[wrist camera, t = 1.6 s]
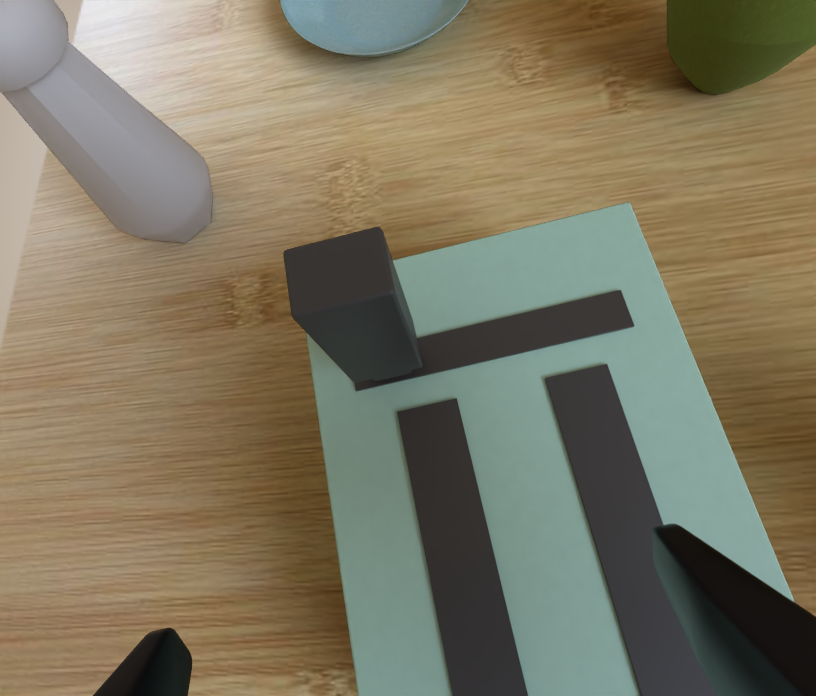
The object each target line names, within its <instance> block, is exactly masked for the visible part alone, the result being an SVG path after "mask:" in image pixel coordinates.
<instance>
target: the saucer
mask: <svg viewBox="0 0 816 696" xmlns="http://www.w3.org/2000/svg"><path fill="white" fill-rule="evenodd" d="M468 1H469V0H280V4H281V8H282V11H283V13H284V16H285V18H286V20H287V21H288V23H289V24H290V26H291V27H292V28H293V29H294V31H295V32H296V33H298V34H299V35H300V36H301V37H302V38H304V39H305V40H307V41H308V42H310V43H312V44H314V45H315V46H318V47H320V48H323V49H325V50H328V51H331V52H335V53H339V54H343V55H349V56H357V57H376V56H384V55H390V54H394V53H398V52H401V51H404V50H407V49H410V48H412V47H414V46H416V45H418V44H420V43H422V42H424V41H426V40H428V39H429V38H431V37H432V36H434V35H435V34H437V33H438V32H439V31H441V30H442V29H443V28H444V27H446V26H447V25H448V24H449V23H450V22H451V21H452V20H453V19H454V18H455V17H456V16H457V15H458V14H459V13H460V12H461V11H462V9H463V8H464V7H465V6H466V4H467V3H468Z"/></svg>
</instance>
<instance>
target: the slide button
mask: <svg viewBox="0 0 816 696" xmlns="http://www.w3.org/2000/svg"><path fill="white" fill-rule="evenodd" d="M284 263H285V270H286V278H287V285H288V293H289V300H290V307H291V315H292V317H293V319H294V320H295V321H296V322H297V323H298V324H299V325H300V326H301V327H302V328H303V329H304V330H305V331H306V333H307V334H308V335H309V336H310V337H311V338H312V339H313V340H314V341H315V342H316V343H317V344H318V345H319V346H320V347H321V348H322V350H323V351H324V352H325V353H326V354H327V355H328V356H329V357H330V358H331V359H332V360H333V361H334V362H335V363H336V364H337V365H338V367H339V368H340V369H341V370H342V371H343V372H344V373H345V374H346V375H347V376H348V377H349V378H350V379H351V380H352V381H353V382H354V383H357V382H362V381H366V380H370V379H373V380H374V381H381V380H385V379H389V378H393V377H398V376H402V375H406V374H410V373H411V372H412V370H413V369H417V368H420V367H422V364H423V363H422V359H421V354H420V350H419V345H418V341H417V336H416V332H415V327H414V323H413V319H412V316H411V313H410V310H409V307H408V304H407V301H406V298H405V295H404V292H403V289H402V286H401V284H400V281H399V278H398V275H397V272H396V269H395V266H394V263H393V260H392V257H391V254H390V251H389V248H388V245H387V242H386V239H385V236H384V233H383V231H382V229H381V228H380V227H375V228H371V229H367V230H363V231H359V232H355V233H351V234H347V235H343V236H339V237H335V238H331V239H327V240H323V241H319V242H315V243H311V244H307V245H303V246H299V247H295V248H291V249H287V250H285V251H284Z"/></svg>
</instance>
